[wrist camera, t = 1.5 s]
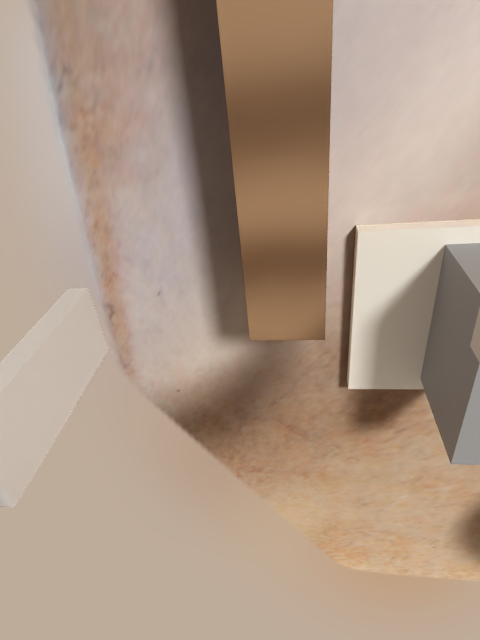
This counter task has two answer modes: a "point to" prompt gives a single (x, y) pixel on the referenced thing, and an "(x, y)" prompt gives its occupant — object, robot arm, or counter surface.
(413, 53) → the counter surface
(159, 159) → the counter surface
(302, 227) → the beam
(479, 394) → the stand
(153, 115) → the counter surface
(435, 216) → the counter surface
